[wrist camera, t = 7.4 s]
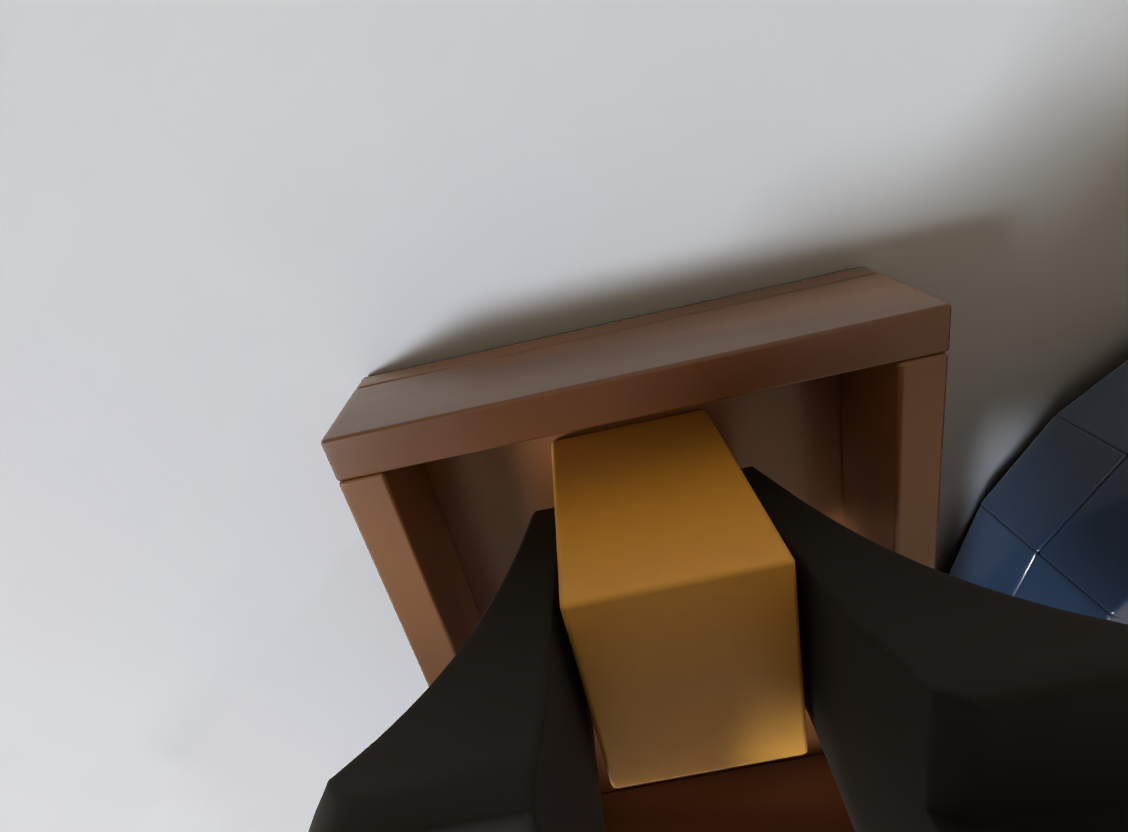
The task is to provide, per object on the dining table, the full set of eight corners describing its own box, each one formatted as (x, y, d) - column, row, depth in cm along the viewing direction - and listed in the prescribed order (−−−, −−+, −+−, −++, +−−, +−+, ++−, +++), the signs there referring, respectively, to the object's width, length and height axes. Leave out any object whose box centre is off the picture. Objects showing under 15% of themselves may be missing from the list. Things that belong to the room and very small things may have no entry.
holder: (866, 741, 18) (920, 843, 15) (528, 803, 18) (527, 911, 16) (864, 265, 12) (953, 303, 9) (362, 376, 12) (318, 441, 10)
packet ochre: (725, 561, 14) (810, 756, 10) (588, 589, 14) (612, 791, 10) (705, 407, 12) (797, 559, 8) (550, 440, 13) (558, 606, 8)
